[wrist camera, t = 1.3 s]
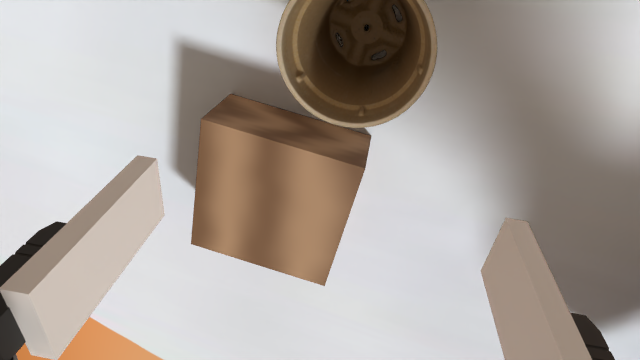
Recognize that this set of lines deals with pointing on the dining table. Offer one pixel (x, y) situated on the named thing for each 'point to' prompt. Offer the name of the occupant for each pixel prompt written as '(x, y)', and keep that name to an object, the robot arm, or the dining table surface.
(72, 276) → the robot arm
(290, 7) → the flower pot
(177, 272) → the dining table surface
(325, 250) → the walnut block
